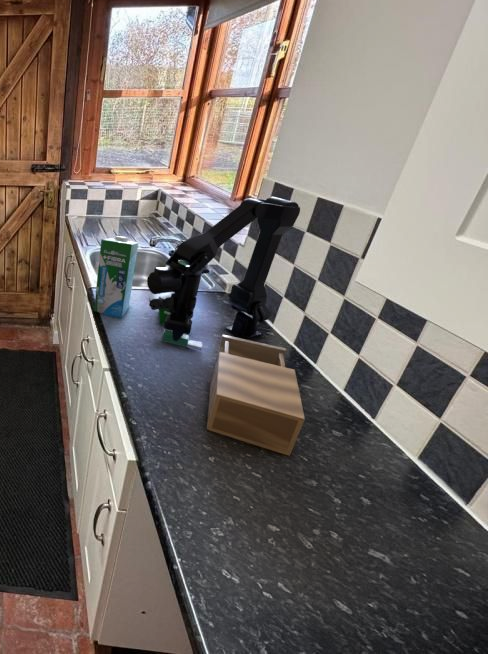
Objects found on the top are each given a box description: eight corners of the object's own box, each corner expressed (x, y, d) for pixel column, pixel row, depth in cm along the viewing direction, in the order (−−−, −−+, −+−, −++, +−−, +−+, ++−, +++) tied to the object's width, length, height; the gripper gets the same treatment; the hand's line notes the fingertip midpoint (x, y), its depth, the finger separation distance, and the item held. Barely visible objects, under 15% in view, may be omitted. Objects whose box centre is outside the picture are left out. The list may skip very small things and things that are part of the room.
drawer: (216, 356, 107) (222, 332, 104) (276, 371, 101) (285, 345, 98) (213, 395, 94) (220, 367, 91) (282, 414, 88) (292, 386, 85)
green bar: (162, 341, 114) (163, 333, 113) (163, 336, 116) (164, 329, 115) (201, 350, 110) (203, 343, 109) (201, 345, 112) (203, 338, 111)
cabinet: (210, 384, 99) (219, 351, 95) (282, 403, 92) (294, 369, 88) (206, 429, 86) (216, 394, 82) (289, 456, 79) (305, 419, 75)
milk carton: (129, 306, 134) (139, 235, 124) (121, 318, 128) (131, 244, 117) (102, 300, 139) (110, 230, 128) (93, 311, 132) (101, 239, 121)
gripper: (159, 270, 118) (151, 316, 124) (147, 296, 103) (139, 347, 110) (201, 277, 113) (190, 325, 119) (196, 306, 98) (184, 358, 105)
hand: (175, 338), depth 113 cm, fingers closed on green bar, 2 cm apart
